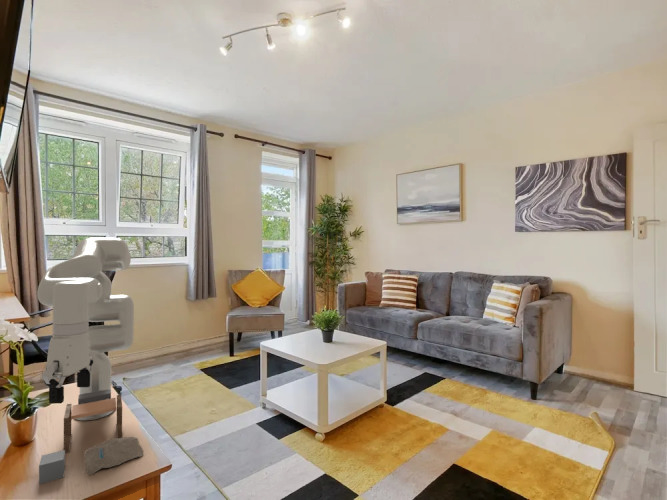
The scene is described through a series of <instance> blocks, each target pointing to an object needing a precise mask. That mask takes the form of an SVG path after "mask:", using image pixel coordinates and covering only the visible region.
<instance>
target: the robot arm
mask: <svg viewBox="0 0 667 500" xmlns="http://www.w3.org/2000/svg"><path fill="white" fill-rule="evenodd" d="M130 265H131V251H130V250H129V246H128V244H127V243H126V241H125V240H124V239H121V238H117V237H88V238H83V239H82V240H81V241H79V243H78V244H77V246H76V248H75V251H74V253H73V255H72V257H71V258H68V259H67V260H64V261H62V262H60V263H57V264H55V265H53V266H51V267H49V269H48V270H46V271H45V273H44V274H43V276H42V278H41V280H40V282H39V284H38V289H37V293H36V295H37V299H38V301H39V303H40V304H41V305H44V306H46V307H52V337H51V338H50V340H49V344H48V349H47V359H46V369H45V370H44V371H43V373H42V374H41V377H42V380H43V381H44V382H43V383H44V385H45V386H46V388H48V403H49V404H62V403H64V402H65V392H64V391H65V386H63V384H64V381H65V379H66V378H67V377H69V376H71V375H74V374H75V373H76V387H77V388H79V394H85V393H91V392H96V391H102V390H108V389H111V390H112V362H111V360H110V358H109V357H108V356H107V354H106V352H115V351H125V350H127V349H130V348H131V347H132V345H133V344H134V335H135V334H134V326H135V324H134V323H135V321H134V320H135V317H134V316H135V314H134V313H135V309H134V300H133V298H132V297H131V296H130V295H128V294H114V295H113V294H112V281H111V279H110V278H109V277H108V275H107V274H105V271H107V272H108V271H112V272H113V271H114V272H115V271H125V270H127V269H128V268H129V267H130ZM103 271H104V272H103ZM115 321H116V322H118V323H117V324H101V325H99V324H98V325H90V324H89V322H91V323H94V322H95V323H100V322H101V323H102V322H115ZM89 325H90V326H89ZM57 379H58V381H57ZM113 413H114V411H110V412H105V413H101V414H96V415H91V416H86V417H81V418H76V419H75V420H78V421H92V420H98V419H101V418H104V417H107V416H109V415H111V414H113Z"/></svg>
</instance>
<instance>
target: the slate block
mask: <svg viewBox="0 0 667 500" xmlns="http://www.w3.org/2000/svg"><path fill="white" fill-rule="evenodd" d="M65 471H66V453H65V450H63V449H62V450H60V451H59V450H58V451H55V452H49V453H45V454H42V455H41V457H40V460H39V464H38V485H42V484H44V483H48V482H53V481H56V480H58V479H59V480H60V479H63V478H64V477H65Z"/></svg>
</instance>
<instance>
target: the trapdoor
mask: <svg viewBox="0 0 667 500" xmlns="http://www.w3.org/2000/svg"><path fill="white" fill-rule="evenodd" d="M77 402H78V403H77V404H75V405H72V407H71V421H72V420H77V419H76V418H81V417H86V416H91V415H96V414H101V413H105V412H110V411H113V412H115V411H117V397H112V388H111V389H108V390H102V391H96V392H91V393H85V394H80V393H79V394H78V401H77Z"/></svg>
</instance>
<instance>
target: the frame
mask: <svg viewBox="0 0 667 500" xmlns="http://www.w3.org/2000/svg"><path fill="white" fill-rule="evenodd" d="M71 413H72V403H67V404H66V407H65V410H64V416H63V449H62V450H65V454H67V453H70V452H71V445H72V438H73V433H72V420H71ZM115 431H116V432H115V433H116V438H122V437H124V435H123V434H124V433H123V401H122V394H116V424H115Z"/></svg>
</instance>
